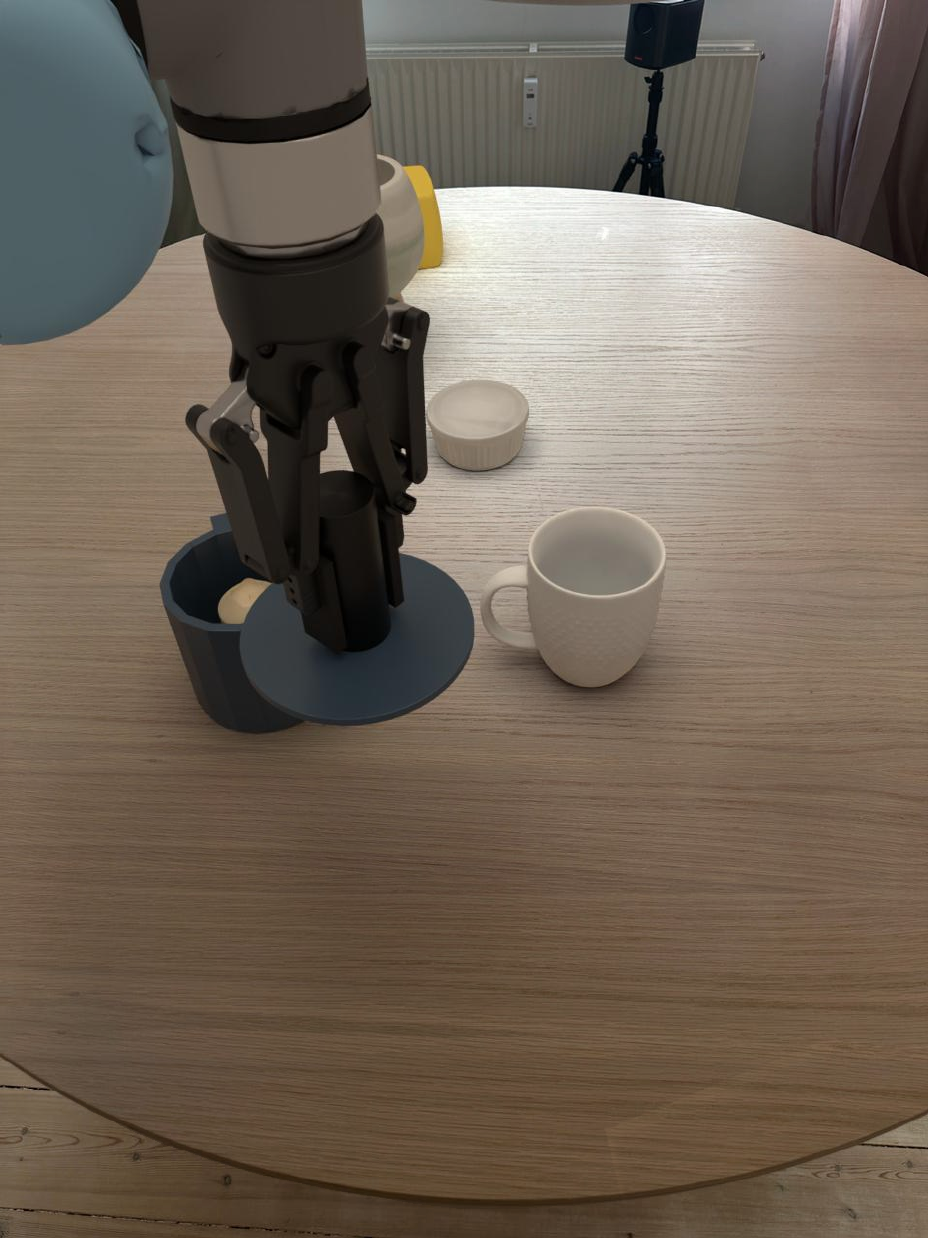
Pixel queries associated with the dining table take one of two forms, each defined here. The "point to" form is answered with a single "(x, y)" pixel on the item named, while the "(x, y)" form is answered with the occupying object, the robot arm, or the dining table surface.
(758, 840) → the dining table surface
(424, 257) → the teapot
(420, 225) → the planter
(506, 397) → the ramekin
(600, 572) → the mug
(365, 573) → the lid
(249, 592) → the candle
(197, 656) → the pot
